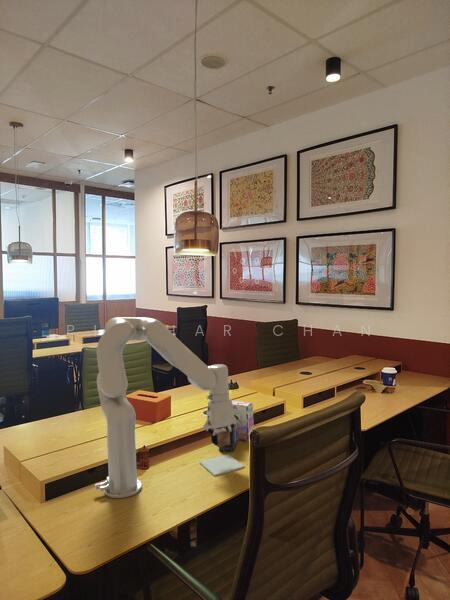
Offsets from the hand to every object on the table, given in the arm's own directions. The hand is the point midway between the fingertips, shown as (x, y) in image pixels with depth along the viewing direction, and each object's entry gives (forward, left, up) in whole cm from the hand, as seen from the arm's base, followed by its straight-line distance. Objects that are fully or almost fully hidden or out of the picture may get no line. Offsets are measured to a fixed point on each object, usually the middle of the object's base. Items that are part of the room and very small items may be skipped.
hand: (221, 442), depth 159 cm
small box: (+11, +14, -10) cm, 20 cm away
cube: (0, 0, -1) cm, 1 cm away
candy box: (+20, +21, -10) cm, 30 cm away
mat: (0, 0, -9) cm, 9 cm away
